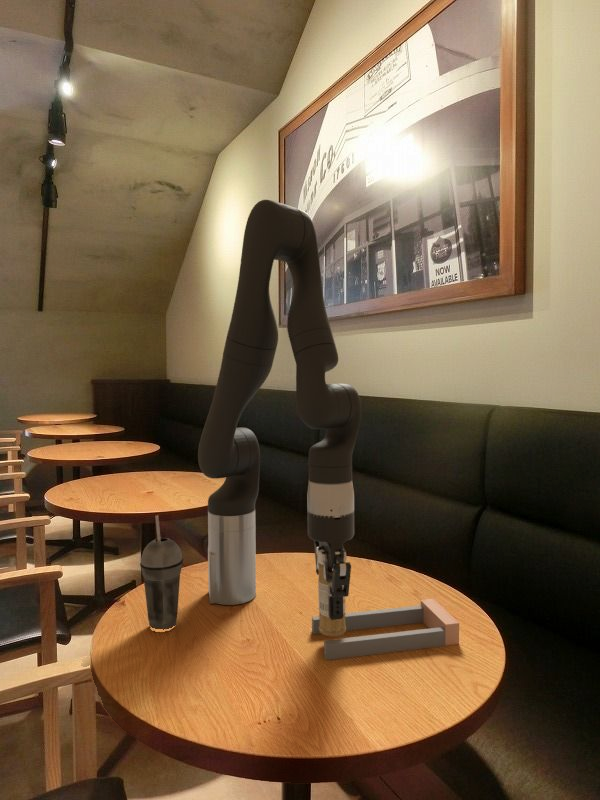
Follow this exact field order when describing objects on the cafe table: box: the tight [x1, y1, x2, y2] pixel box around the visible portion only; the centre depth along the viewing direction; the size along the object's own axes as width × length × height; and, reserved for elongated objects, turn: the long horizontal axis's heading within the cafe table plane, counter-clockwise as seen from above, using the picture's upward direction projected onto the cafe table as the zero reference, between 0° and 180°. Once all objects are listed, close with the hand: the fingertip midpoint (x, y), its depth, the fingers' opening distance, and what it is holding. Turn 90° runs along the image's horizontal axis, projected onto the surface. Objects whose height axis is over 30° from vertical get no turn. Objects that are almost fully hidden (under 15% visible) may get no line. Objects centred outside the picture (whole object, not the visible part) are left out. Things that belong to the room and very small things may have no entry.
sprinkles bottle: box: [317, 549, 347, 637], centre depth 87 cm, size 5×5×13 cm
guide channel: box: [311, 598, 460, 661], centre depth 89 cm, size 22×9×4 cm, turn 102°
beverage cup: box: [139, 514, 184, 630], centre depth 93 cm, size 7×7×20 cm
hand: (331, 611), depth 87 cm, fingers closed on sprinkles bottle, 4 cm apart
